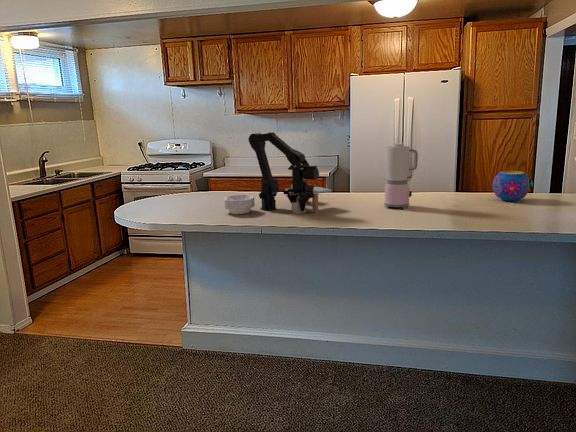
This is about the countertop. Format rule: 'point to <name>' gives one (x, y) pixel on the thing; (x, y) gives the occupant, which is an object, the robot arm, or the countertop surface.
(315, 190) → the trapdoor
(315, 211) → the frame
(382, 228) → the countertop surface
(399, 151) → the blender
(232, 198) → the paper bowls
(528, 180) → the ceramic pot
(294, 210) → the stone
